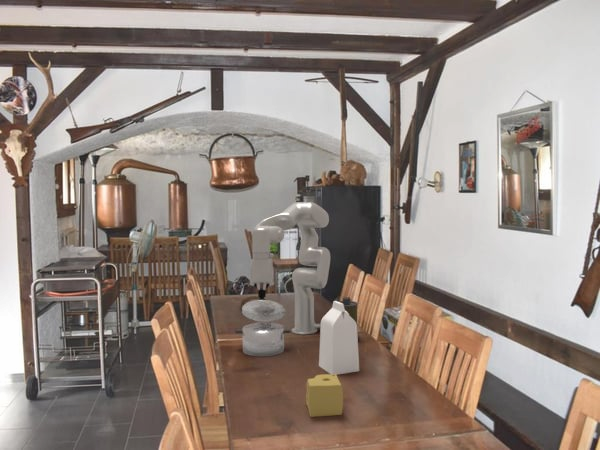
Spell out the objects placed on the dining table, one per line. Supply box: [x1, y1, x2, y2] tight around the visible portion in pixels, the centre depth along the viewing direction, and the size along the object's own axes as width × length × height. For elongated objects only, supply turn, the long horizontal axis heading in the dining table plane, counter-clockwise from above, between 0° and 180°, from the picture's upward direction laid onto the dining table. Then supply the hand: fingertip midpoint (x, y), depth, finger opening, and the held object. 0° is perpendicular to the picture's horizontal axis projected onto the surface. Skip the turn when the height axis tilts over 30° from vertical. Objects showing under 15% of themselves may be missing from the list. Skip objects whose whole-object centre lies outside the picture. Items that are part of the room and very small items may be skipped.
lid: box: [241, 299, 286, 323], centre depth 238 cm, size 19×20×3 cm
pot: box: [235, 322, 292, 357], centre depth 235 cm, size 24×18×10 cm
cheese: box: [305, 373, 344, 418], centre depth 170 cm, size 10×11×10 cm
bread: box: [240, 295, 267, 309], centre depth 310 cm, size 16×36×8 cm, turn 18°
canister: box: [338, 296, 359, 325], centre depth 249 cm, size 11×10×20 cm
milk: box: [318, 300, 360, 376], centre depth 210 cm, size 12×12×26 cm
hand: (262, 298), depth 232 cm, fingers closed
